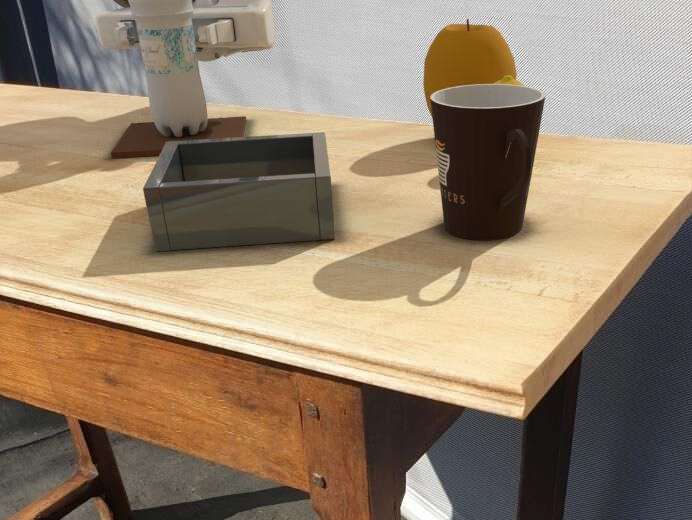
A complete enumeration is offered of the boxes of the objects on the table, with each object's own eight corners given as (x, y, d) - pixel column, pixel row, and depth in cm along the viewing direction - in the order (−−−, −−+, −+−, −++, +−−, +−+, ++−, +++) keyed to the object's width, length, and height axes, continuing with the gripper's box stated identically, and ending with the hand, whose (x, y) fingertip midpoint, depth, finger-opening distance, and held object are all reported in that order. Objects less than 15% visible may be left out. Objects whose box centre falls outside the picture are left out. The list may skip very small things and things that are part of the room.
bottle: (142, 134, 96) (102, -71, 85) (190, 123, 100) (158, -75, 89) (174, 143, 92) (137, -71, 81) (223, 131, 96) (194, -75, 85)
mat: (111, 158, 91) (110, 152, 90) (132, 128, 102) (131, 123, 102) (240, 150, 91) (239, 144, 91) (246, 121, 103) (245, 116, 102)
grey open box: (155, 251, 66) (142, 188, 63) (176, 197, 78) (166, 141, 75) (335, 239, 67) (330, 176, 64) (329, 187, 79) (325, 131, 76)
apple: (524, 131, 93) (531, 13, 86) (493, 153, 86) (497, 26, 80) (444, 125, 97) (445, 11, 90) (408, 145, 90) (406, 24, 83)
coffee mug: (437, 208, 72) (437, 84, 67) (537, 210, 71) (546, 83, 65) (418, 257, 63) (417, 118, 57) (534, 261, 62) (544, 118, 56)
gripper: (118, -8, 101) (65, 6, 89) (281, -13, 98) (248, 1, 86) (129, 49, 104) (80, 70, 93) (287, 47, 101) (256, 67, 90)
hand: (162, 37), depth 90 cm, fingers open, 8 cm apart
